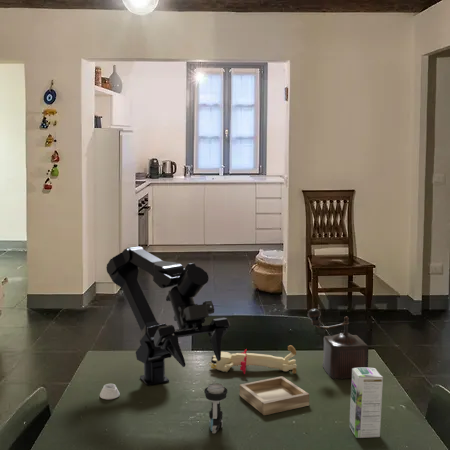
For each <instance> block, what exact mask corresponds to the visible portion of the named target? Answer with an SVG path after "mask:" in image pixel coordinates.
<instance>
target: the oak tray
mask: <svg viewBox="0 0 450 450" xmlns="http://www.w3.org/2000/svg"><path fill="white" fill-rule="evenodd" d="M239 397H241V398H242V399H243V400H244V401H246V402H247V403H248V404H250V405H251V406H252V407H253V408H254V409H256V411H258V412H259V413H260V414H262V415H263V416H267V415H268V416H269V415H271V414H276V413H280V412H282V413H283V412H285V411H290V410H294V409H299V408H303V407H307V406H310V393H309V392H307V391H305V390H304V389H302V388H301V387H299V386H298V385H296V384H295V383H293V382H292V381H290V380H289V379H287V378H285V377H284V376H277V377H276V376H275V377H272V378H266V379H261V380H257V381H251V382H246V383H241V384H239Z"/></svg>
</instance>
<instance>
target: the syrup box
mask: <svg viewBox="0 0 450 450" xmlns="http://www.w3.org/2000/svg"><path fill="white" fill-rule="evenodd" d="M383 381H384V376H383V375H381V373H380V372H379V371H378V370H377V368H375V367H369V366H368V367H360V368H352V379H351V386H350V401H349V402H350V405H349V429H350V430H351V432H352V434H353V435H354V437H355V439H364V438H367V439H368V438H380V436H381V424H382V423H381V422H382V402H383V383H384V382H383Z"/></svg>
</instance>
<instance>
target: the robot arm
mask: <svg viewBox="0 0 450 450" xmlns="http://www.w3.org/2000/svg"><path fill="white" fill-rule="evenodd" d="M140 269H141V270H143V271H144V272H146V273H148V274H149V275H150V276H152V281H153V282H154V283H155V284H156V285H157V286H158V287H159V288H161V289H165V288H171V289H170V290H168V294H167V295H166V297H165V300H166V302H170V304H171V307H172V310H173V313H174V316H173V319H174V321H175V322H176V323H177V326H178V328H177V329H175V326H174V325H173V324H169V325H167V324H166V323H162V324H161V323H159V322H158V321H157V319H156V316H155V315H154V312H153V311H152V310H153V309H152V308H151V306H150V304H149V302H148V301H149V300H148V299H147V298H146V297H147V296H146V295H145V293H144V291H143V289H142V287H141V284H140V282H139V279H138V278H139V273H140ZM106 272H107V274H108V276H109V277H110V280H112V282H113V283H114V284H116V285H117V286H118V287H120V288H121V289H122V291H123V293H124V296H125V298H126V300H127V302H128V305H129V307H130V309H131V311H132V313H133V315H134V318H135V321H136V322H137V324H138V327H139V329H140V338H139V343H140V345H139V347H138V348H137V349H136V351H135V356H136V360H137V361H139V362H141V363H142V364H143V375H140V376H139V378H140V380H141V381H143V383H144V384H145V385H146V386H152V385H157V384H163V383H168V382H170V379H169V378H168V377H167V376H166V374H165V373H166V372H165V370H166V368H165V364H166V363H165V359H168V358H169V359H170V358H172V357H173V358H174V359H175V360H176V361H177V362H178V364H180V366H181V367H182V368H185V367H186V365H187V364H186V362H185V358H184V354H183V352H182V349H181V346H180V344H179V338H184V337H185V338H186V337H190V336H198V335H205V334H208V337H210V339H209V343H210V345H211V346H210V347H211V348H212V351H213V353H214V355H215V356H216V358H217V360H218V361H220V360H221V352H222V340H223V337H225V336H226V334H227V333H228V331H229V329H230V328H231V323H230V320H229V319H228V318H227V317H219V318H213V319H212V321H210V324H206V325H205V322H206V318H209V317H210V315H212V314H214V313H215V307H214V303H213V301H212V300H205V301H203V302H202V304H198V303H196V302H195V300H194V298H195V297H197V296H198V295H199V293H200V292H201V291H202V289H204V287H205V286H206V285H207V284H208V282H209V274H208V272H207V271H205V270H204V269H203V268H202V267H200V266H197V265H196V263H195V262H192V263H191V262H190V263H187V264H186V266H185V267H184V265H182V264H181V263H179V262H175V261H165V260H162V259H161V258H159V257H158V256H156V255H154V254H153V253H150V252H148V251H147V250H145V249H144V247H142V246H140V245H139V246H130V247H126V248H125V249H123V251H122V252H120V253H118V254H116V255H115V256H113V257H111V258H110V259H109V261H108V262H107V263H106ZM203 324H204V325H203Z"/></svg>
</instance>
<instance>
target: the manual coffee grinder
mask: <svg viewBox="0 0 450 450" xmlns="http://www.w3.org/2000/svg"><path fill="white" fill-rule="evenodd" d="M321 315H322V314H321V311H320V309H318V308H311V309H309V310H307V317H308V318H309V320H310V321H311V325H312V326H315V327H316V328H317V329H320V330H332V329H338V328H341V327H343V326H344V330H343V329H342V330H340V333H338V334H333V335H323V360H322V367H323V369H324V371H325V373H326V374H327V375H328V376H329V377H330V378H332V380H352V368H360V367H368V368H369V345H368V344H367V343H366V342H365V341H364V340H363V339H361V337H359V336H358V335H357V334H351V333H350V332H348V328H349V326H348V325H349V324H350V321H349V317H348V316H344V318H343V319H344V321H343V322H342V323H339V324H334V325H328V326H323V325H321V324H322V322H321V320H320V317H321Z"/></svg>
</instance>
